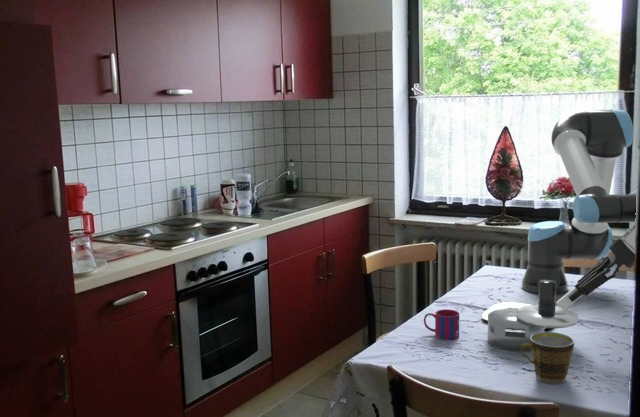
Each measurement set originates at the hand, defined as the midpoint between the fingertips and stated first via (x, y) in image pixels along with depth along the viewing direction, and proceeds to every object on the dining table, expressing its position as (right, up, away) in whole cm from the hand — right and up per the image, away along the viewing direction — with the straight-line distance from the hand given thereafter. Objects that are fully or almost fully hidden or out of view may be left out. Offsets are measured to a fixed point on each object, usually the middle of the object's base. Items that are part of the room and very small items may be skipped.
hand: (560, 306), depth 180 cm
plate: (-3, -8, +24) cm, 26 cm away
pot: (-11, -11, +5) cm, 16 cm away
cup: (-30, -10, +12) cm, 34 cm away
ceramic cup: (-11, -15, -20) cm, 27 cm away
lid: (-3, -4, +2) cm, 5 cm away
